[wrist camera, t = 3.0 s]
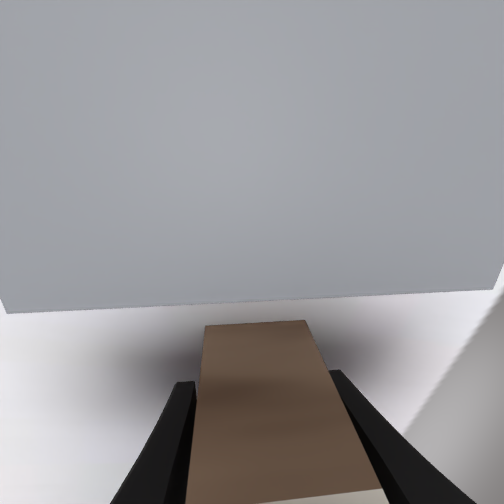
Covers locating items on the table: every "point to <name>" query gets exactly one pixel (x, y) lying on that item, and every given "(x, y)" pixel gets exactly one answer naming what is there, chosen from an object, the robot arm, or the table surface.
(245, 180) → the plinth
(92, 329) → the table surface
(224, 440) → the block
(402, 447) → the robot arm
